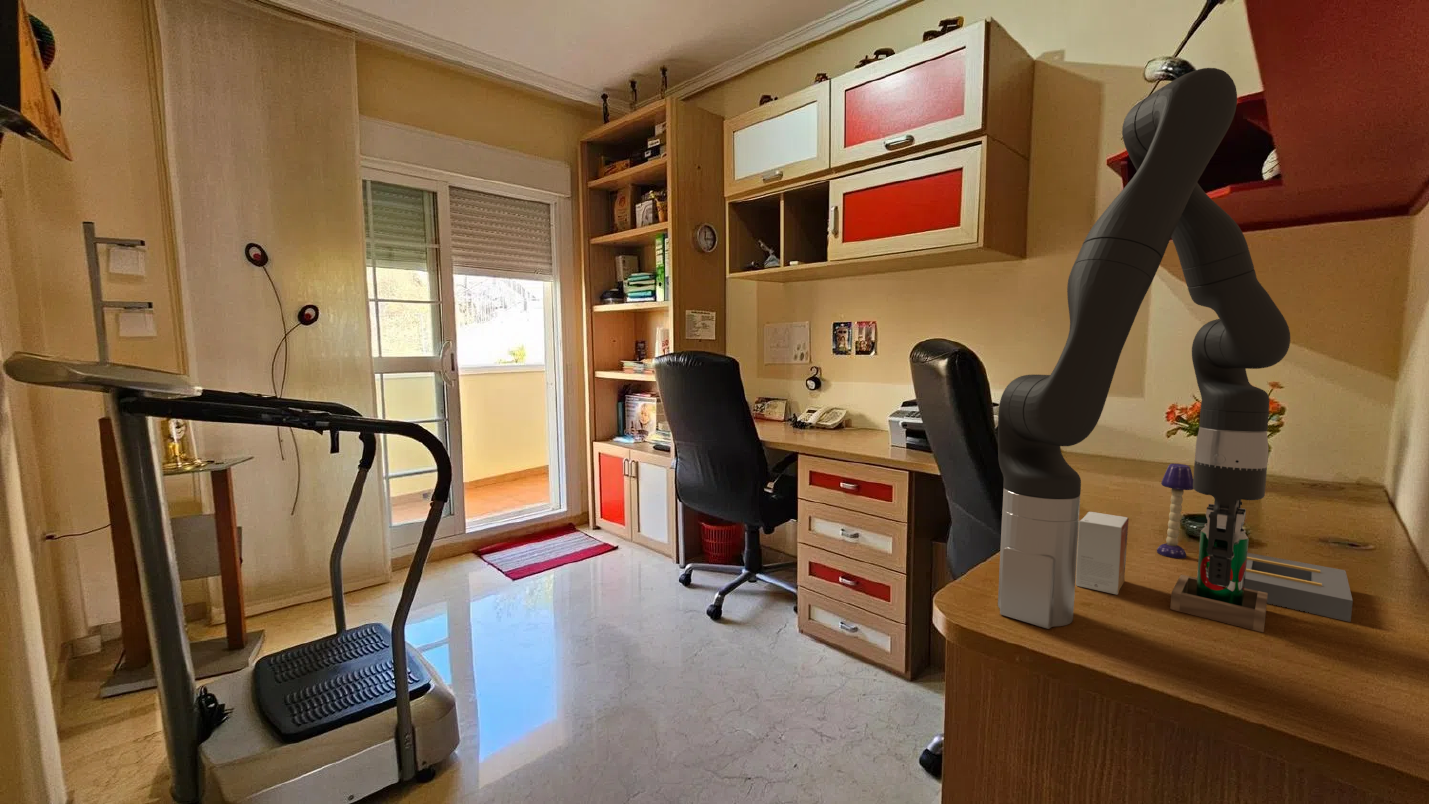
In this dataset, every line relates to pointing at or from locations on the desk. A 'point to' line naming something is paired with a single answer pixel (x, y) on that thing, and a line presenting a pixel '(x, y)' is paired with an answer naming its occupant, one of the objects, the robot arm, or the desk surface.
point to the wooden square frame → (1220, 605)
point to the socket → (1300, 586)
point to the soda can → (1237, 576)
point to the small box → (1102, 552)
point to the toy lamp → (1175, 507)
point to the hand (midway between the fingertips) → (1221, 576)
